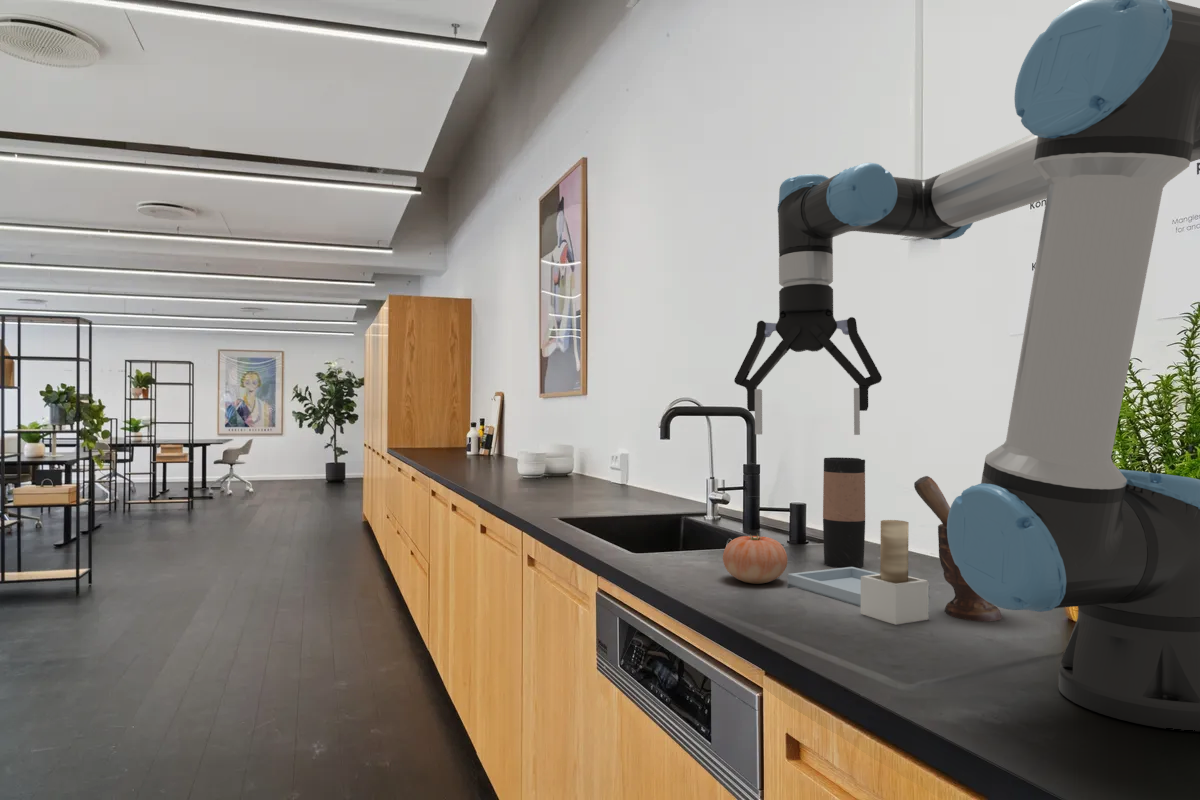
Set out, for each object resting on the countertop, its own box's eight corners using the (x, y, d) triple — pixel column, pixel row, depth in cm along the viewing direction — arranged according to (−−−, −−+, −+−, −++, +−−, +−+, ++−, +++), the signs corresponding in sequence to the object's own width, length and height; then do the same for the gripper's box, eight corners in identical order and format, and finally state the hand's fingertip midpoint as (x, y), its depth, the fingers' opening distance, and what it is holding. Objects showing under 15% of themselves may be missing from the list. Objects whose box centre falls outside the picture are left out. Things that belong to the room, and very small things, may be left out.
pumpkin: (711, 583, 134) (712, 535, 134) (738, 572, 143) (738, 527, 143) (773, 591, 128) (773, 541, 128) (796, 580, 137) (797, 533, 137)
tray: (929, 602, 121) (929, 585, 122) (861, 612, 115) (861, 594, 115) (851, 581, 136) (851, 566, 136) (787, 589, 129) (787, 573, 129)
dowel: (913, 618, 109) (914, 522, 109) (894, 621, 107) (895, 524, 107) (893, 611, 112) (893, 519, 112) (874, 614, 111) (875, 520, 111)
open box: (928, 625, 108) (928, 580, 108) (895, 630, 106) (895, 585, 106) (892, 614, 114) (892, 572, 114) (860, 619, 111) (860, 576, 111)
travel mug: (814, 564, 151) (815, 458, 151) (836, 559, 156) (836, 456, 156) (851, 570, 145) (852, 460, 145) (872, 565, 150) (873, 458, 151)
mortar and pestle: (945, 631, 106) (945, 480, 106) (905, 614, 114) (906, 474, 114) (1019, 626, 108) (1020, 479, 109) (975, 610, 117) (976, 473, 117)
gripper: (897, 286, 114) (898, 434, 114) (723, 294, 122) (723, 433, 121) (899, 277, 107) (901, 435, 106) (714, 286, 115) (715, 434, 114)
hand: (806, 434), depth 114 cm, fingers open, 13 cm apart
